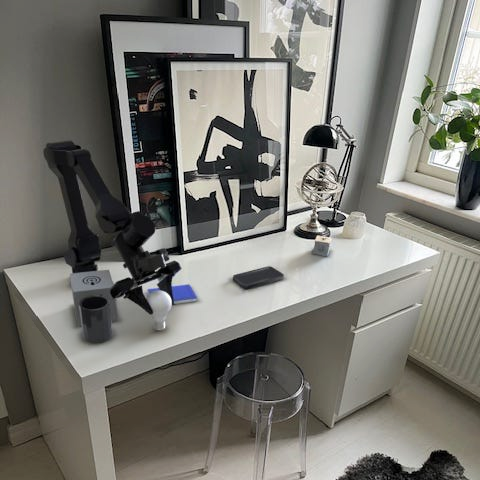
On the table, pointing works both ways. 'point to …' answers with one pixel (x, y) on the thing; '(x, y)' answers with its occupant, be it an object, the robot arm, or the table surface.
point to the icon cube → (92, 289)
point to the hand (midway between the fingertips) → (162, 309)
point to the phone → (258, 277)
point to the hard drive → (180, 293)
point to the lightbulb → (159, 307)
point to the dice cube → (322, 245)
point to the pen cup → (96, 318)
